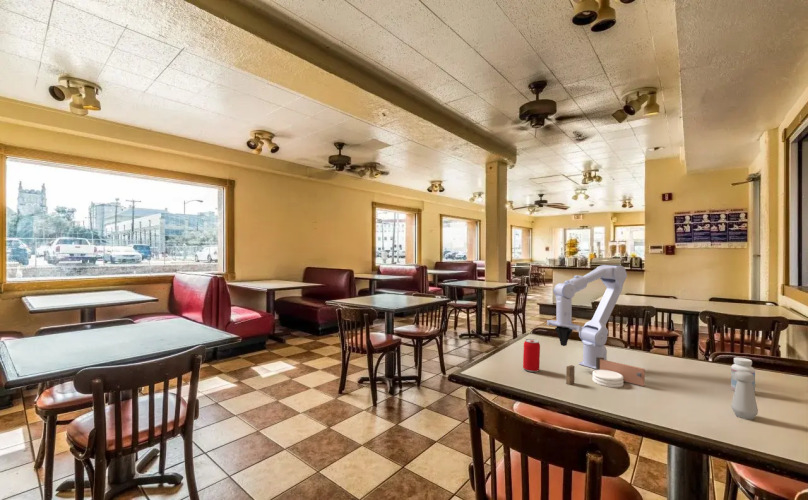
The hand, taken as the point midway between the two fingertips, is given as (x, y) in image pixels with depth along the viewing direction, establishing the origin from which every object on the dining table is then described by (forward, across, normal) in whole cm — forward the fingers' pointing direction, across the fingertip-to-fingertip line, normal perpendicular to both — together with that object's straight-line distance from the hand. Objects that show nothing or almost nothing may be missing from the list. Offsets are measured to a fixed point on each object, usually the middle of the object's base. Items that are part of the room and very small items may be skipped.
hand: (563, 345), depth 147 cm
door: (+9, +20, +4) cm, 23 cm away
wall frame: (+9, +12, -4) cm, 16 cm away
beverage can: (+10, -5, -14) cm, 18 cm away
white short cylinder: (+10, +18, -1) cm, 21 cm away
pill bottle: (+10, +48, +31) cm, 58 cm away
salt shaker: (+10, +54, +6) cm, 55 cm away
